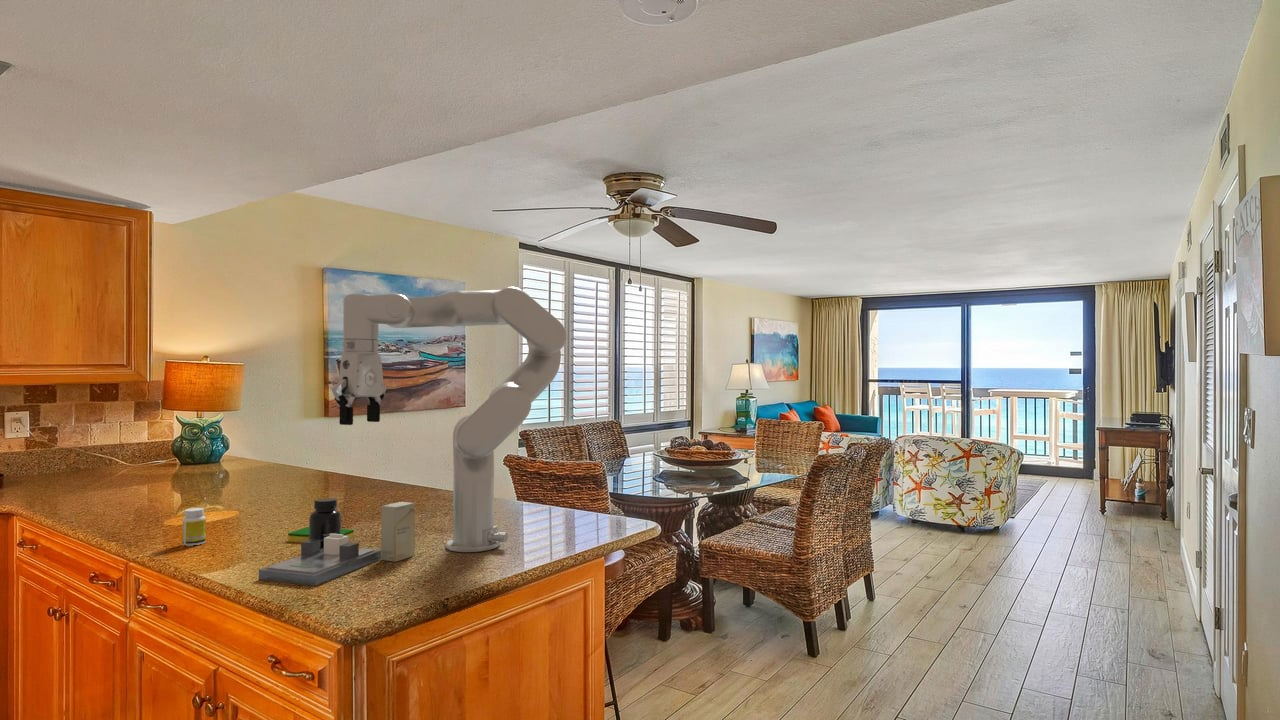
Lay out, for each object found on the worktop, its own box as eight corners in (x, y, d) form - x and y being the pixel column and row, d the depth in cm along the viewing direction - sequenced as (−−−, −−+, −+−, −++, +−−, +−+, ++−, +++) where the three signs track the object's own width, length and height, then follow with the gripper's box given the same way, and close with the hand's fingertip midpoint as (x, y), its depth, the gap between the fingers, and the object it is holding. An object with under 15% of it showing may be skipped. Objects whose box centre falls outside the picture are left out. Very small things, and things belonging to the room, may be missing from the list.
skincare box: (395, 562, 153) (395, 507, 153) (380, 560, 155) (380, 505, 155) (415, 555, 159) (415, 502, 159) (400, 553, 161) (401, 500, 161)
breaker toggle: (348, 552, 153) (348, 533, 153) (339, 555, 150) (339, 536, 150) (333, 550, 154) (333, 532, 154) (323, 554, 151) (323, 535, 151)
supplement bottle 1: (210, 542, 170) (210, 508, 170) (190, 547, 166) (190, 512, 166) (197, 540, 172) (197, 506, 172) (178, 545, 168) (178, 510, 168)
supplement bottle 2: (328, 555, 158) (328, 503, 159) (302, 554, 160) (302, 501, 160) (347, 548, 165) (347, 497, 165) (321, 546, 167) (321, 496, 167)
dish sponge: (336, 546, 169) (336, 536, 169) (287, 543, 172) (287, 533, 172) (354, 538, 176) (354, 529, 176) (306, 535, 179) (306, 526, 179)
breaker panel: (381, 559, 156) (381, 536, 156) (315, 586, 137) (315, 560, 137) (329, 554, 160) (329, 531, 160) (258, 579, 141) (258, 554, 141)
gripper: (347, 346, 151) (347, 426, 150) (398, 348, 167) (397, 420, 167) (319, 346, 153) (318, 425, 153) (372, 348, 169) (371, 420, 169)
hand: (360, 422), depth 160 cm, fingers open, 8 cm apart
